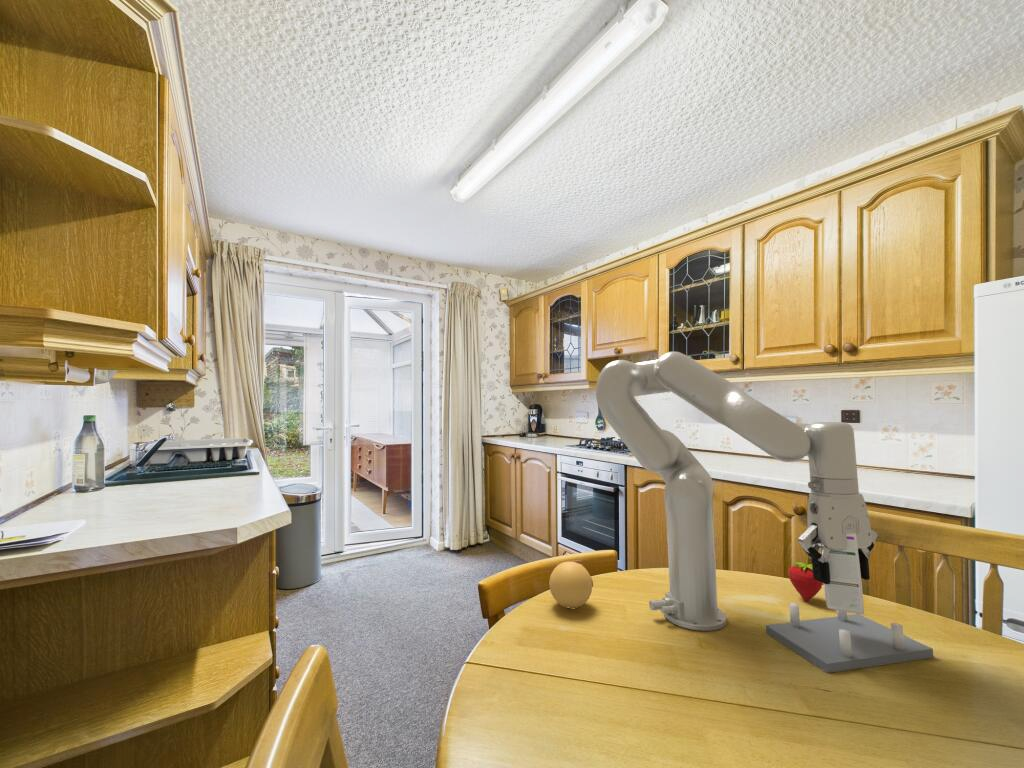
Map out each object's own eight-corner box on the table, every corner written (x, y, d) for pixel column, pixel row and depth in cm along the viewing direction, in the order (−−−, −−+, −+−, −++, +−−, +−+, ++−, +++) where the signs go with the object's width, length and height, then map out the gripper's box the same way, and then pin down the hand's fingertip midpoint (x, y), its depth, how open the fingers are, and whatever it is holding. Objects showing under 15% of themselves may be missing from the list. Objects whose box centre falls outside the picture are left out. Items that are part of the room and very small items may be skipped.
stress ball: (577, 623, 96) (607, 587, 99) (546, 589, 96) (577, 554, 99) (564, 611, 105) (592, 579, 108) (536, 580, 106) (564, 549, 109)
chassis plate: (827, 672, 74) (825, 639, 75) (765, 632, 88) (764, 604, 89) (933, 657, 78) (930, 625, 79) (858, 621, 92) (856, 594, 92)
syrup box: (865, 615, 80) (858, 533, 81) (825, 608, 83) (819, 529, 84) (861, 603, 85) (854, 526, 86) (823, 597, 88) (817, 523, 89)
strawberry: (803, 592, 107) (800, 550, 108) (832, 605, 100) (829, 560, 100) (782, 595, 106) (780, 552, 106) (810, 608, 98) (807, 562, 99)
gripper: (811, 492, 80) (819, 591, 79) (891, 486, 83) (899, 582, 82) (779, 485, 87) (786, 576, 86) (853, 481, 90) (861, 568, 89)
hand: (841, 579), depth 84 cm, fingers closed on syrup box, 8 cm apart
